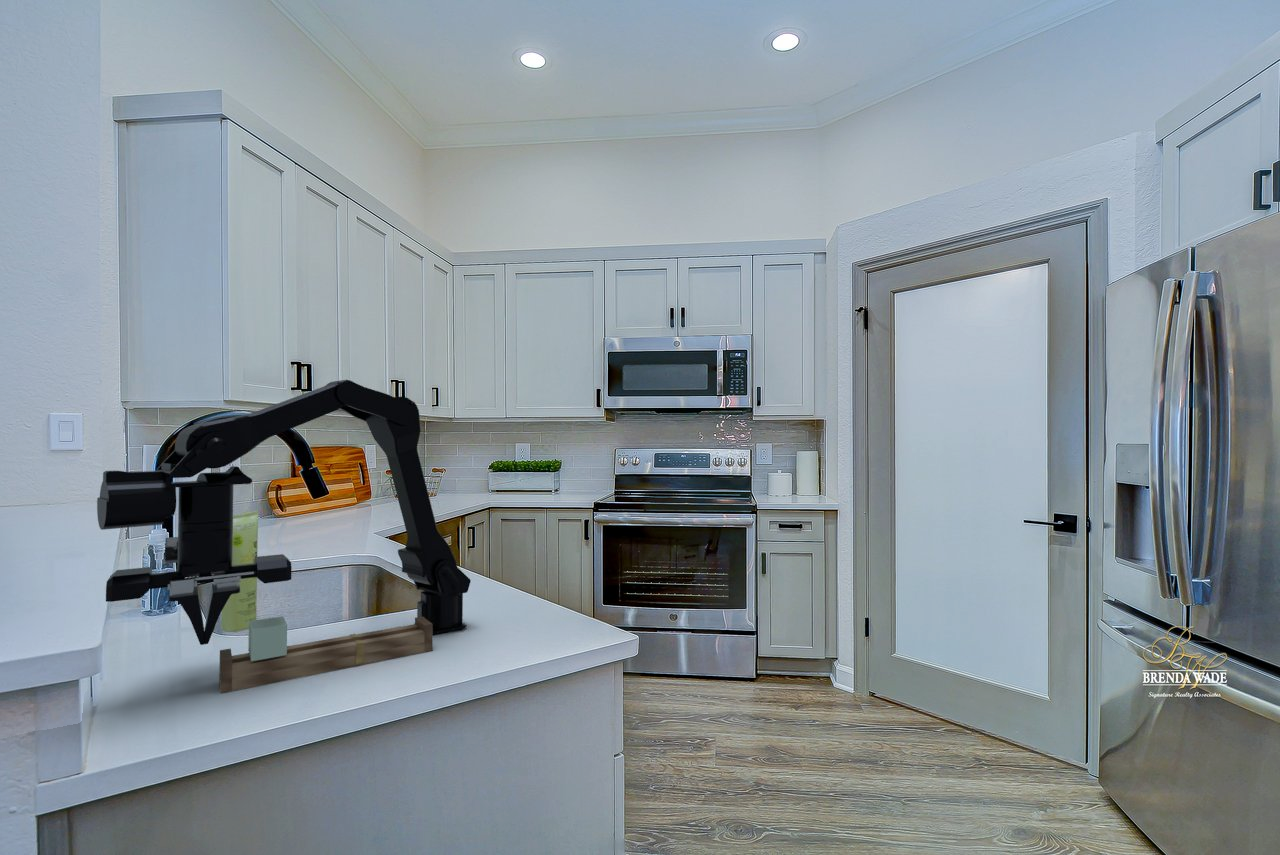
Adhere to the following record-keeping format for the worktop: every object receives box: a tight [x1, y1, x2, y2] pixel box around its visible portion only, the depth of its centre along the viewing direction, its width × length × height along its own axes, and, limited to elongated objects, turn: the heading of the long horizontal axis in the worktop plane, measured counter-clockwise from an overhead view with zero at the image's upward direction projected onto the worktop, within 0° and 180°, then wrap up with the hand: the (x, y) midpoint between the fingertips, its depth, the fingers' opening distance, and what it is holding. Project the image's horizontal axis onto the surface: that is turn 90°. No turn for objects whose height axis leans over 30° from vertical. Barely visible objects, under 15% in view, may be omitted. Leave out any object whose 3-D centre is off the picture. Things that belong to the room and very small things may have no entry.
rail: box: [218, 616, 434, 694], centre depth 86 cm, size 26×5×4 cm, turn 126°
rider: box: [247, 615, 288, 661], centre depth 81 cm, size 4×5×6 cm
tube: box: [221, 510, 259, 633], centre depth 102 cm, size 6×5×20 cm
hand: (204, 643), depth 77 cm, fingers closed
